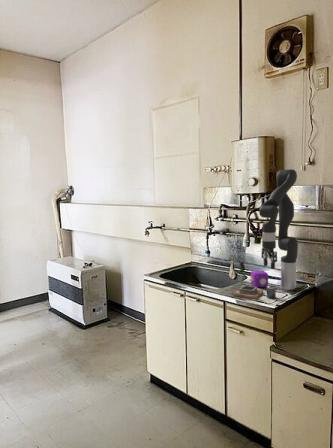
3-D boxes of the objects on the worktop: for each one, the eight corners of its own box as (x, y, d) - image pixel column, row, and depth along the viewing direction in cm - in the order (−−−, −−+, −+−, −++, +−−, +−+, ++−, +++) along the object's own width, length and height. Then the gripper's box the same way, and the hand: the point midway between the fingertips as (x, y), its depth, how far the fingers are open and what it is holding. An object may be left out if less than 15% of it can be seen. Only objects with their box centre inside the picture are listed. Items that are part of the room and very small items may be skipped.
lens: (268, 295, 207) (268, 284, 206) (276, 297, 204) (276, 285, 203) (265, 298, 203) (265, 286, 202) (274, 299, 200) (274, 287, 199)
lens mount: (241, 289, 221) (241, 283, 220) (263, 292, 213) (263, 286, 213) (233, 295, 209) (233, 289, 209) (255, 299, 201) (255, 292, 201)
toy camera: (258, 290, 219) (258, 274, 218) (247, 284, 232) (247, 270, 231) (273, 288, 222) (273, 273, 221) (262, 282, 235) (262, 268, 234)
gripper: (281, 241, 193) (281, 269, 195) (268, 238, 207) (269, 264, 209) (269, 242, 192) (269, 270, 193) (257, 238, 206) (257, 265, 207)
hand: (269, 267), depth 201 cm, fingers open, 8 cm apart
